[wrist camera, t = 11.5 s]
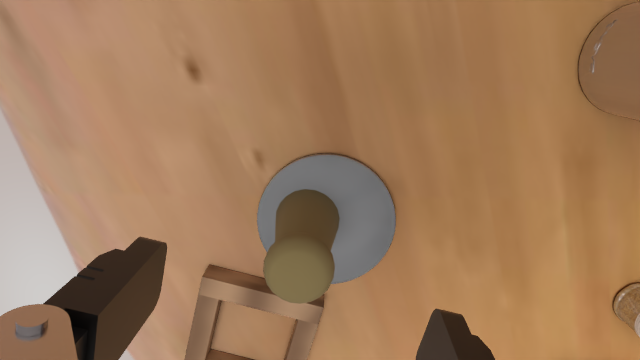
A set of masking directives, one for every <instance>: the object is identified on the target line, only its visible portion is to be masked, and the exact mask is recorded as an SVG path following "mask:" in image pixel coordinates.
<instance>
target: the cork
mask: <svg viewBox="0 0 640 360" xmlns="http://www.w3.org/2000/svg"><path fill="white" fill-rule="evenodd" d="M339 219H340V218H339V213H338V209H337V207H336V206H335V204H334V202H333V201H332V200H331V199H330V198H329V197H328V196H326V195H325V194H323V193H321V192H319V191H316V190H310V189H303V190H298V191H294V192H292V193H291V194H289V195H287V196H286V197H285V198H284V199H283V200H282V201H281V202H280V204H279V206H278V208H277V211H276V221H275V242H274V244H273V245H272V246H271V247H270V248H269V250H268V252H267V255H266V257H265V259H264V269H263V272H264V276H265V280H266V283H267V285H268V286H269V288H270V289H271V291H272V292H273V293H274V294H275V295H277V296H278V297H279V298H281V299H282V300H285V301H287V302H290V303H298V304H301V303H307V302H311V301H313V300H315V299H317V298H319V297H321V296H322V295H323V294H324V293H325V292H326V291H327V290H328V288H329V286H330V284H331V282H332V280H333V278H334V270H335V263H334V259H333V255H332V253H331V249H332V246H333V243H334V240H335V237H336V234H337V231H338V228H339Z"/></svg>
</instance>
